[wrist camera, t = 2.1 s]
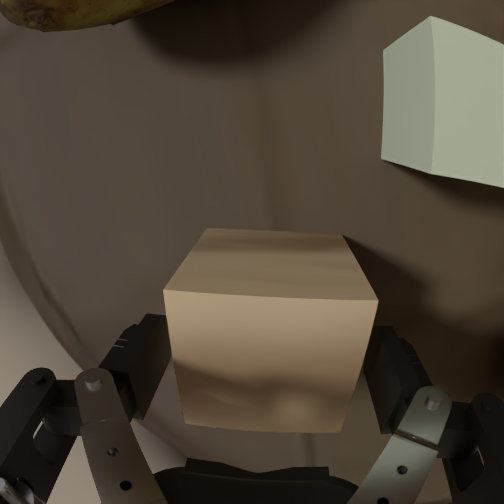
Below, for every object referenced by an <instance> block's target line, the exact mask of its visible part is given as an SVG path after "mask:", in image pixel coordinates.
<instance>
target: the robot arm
mask: <svg viewBox="0 0 504 504" xmlns="http://www.w3.org/2000/svg"><path fill="white" fill-rule="evenodd" d="M170 357H171V344H170V337H169V330H168V323H167V318H166V316H165V315H156V314H146V315H145V316H144V318H143V319H142V321H141V322H140V323H139V325H137V324H133V325H132V326H130V327H129V328H127V329H126V330H124V332H123V333H122V334H121V336H120V337H119V340H117V341H116V343H115V344H114V347H112V348H111V350H110V351H109V352H108V354H107V355H106V357H105V358H104V360H103V361H102V362H101V364H100V365H99V367H98V368H91V369H87V370H85V371H83V372H81V373H80V374H79V375H78V376H77V378H76V379H75V380H56V377H55V375H54V373H53V372H52V371H51V370H50V369H48V368H36V369H33V370H31V371H29V372H28V373H26V374H25V375H24V377H23V378H22V379H21V380H20V382H19V383H18V384H17V386H16V387H15V388H14V390H13V391H12V392H11V394H10V395H9V396H8V398H7V399H6V400H5V402H4V403H3V404H2V406H1V407H0V504H46V503H47V501H48V498H49V496H50V493H51V491H52V489H53V487H54V485H55V483H56V480H57V478H58V476H59V474H60V471H61V469H62V467H63V465H64V463H65V461H66V459H67V457H68V455H69V452H70V450H71V448H72V446H73V444H74V442H75V440H76V438H77V436H82V440H83V444H84V448H85V452H86V455H87V458H88V462H89V466H90V469H91V472H92V476H93V479H94V482H95V485H96V488H97V491H98V494H99V496H100V499H101V502H102V503H101V504H414V503H415V501H416V499H417V497H418V495H419V493H420V491H421V489H422V487H423V485H424V483H425V481H426V479H427V477H428V475H429V472H430V470H431V468H432V466H433V463H434V461H435V459H436V458H442V462H443V465H444V469H445V473H446V477H447V480H448V484H449V488H450V492H451V497H452V501H453V504H504V405H503V403H502V401H501V400H500V399H499V398H498V397H497V396H495V395H493V394H490V393H479V394H477V395H476V396H475V397H474V398H473V400H472V402H471V403H463V402H454V401H452V400H451V397H450V396H449V394H448V393H447V392H445V391H444V390H443V389H441V388H438V387H434V386H433V385H432V383H431V381H430V379H429V377H428V375H427V373H426V371H425V369H424V367H423V365H422V363H420V362H421V361H420V359H419V358H418V356H417V354H416V352H415V350H414V348H413V346H412V345H411V344H410V343H408V342H407V341H406V340H405V339H404V338H398V336H397V334H396V332H395V330H394V328H393V327H392V326H374V327H373V328H372V330H371V334H370V338H369V342H368V346H367V350H366V353H365V357H364V374H365V377H366V380H367V384H368V387H369V391H370V394H371V398H372V401H373V405H374V409H375V412H376V416H377V420H378V423H379V427H380V431H381V434H389V433H392V437H391V439H390V441H389V442H388V444H387V446H386V447H385V449H384V451H383V452H382V454H381V455H380V457H379V459H378V460H377V462H376V463H375V465H374V466H373V468H372V469H371V471H370V472H369V474H368V475H367V477H366V478H365V480H364V481H363V482H362V484H361V485H360V487H358V486H357V485H355V484H353V483H351V482H349V481H347V480H344V479H341V478H338V477H334V476H329V468H328V467H292V468H287V469H281V470H276V471H270V472H263V473H254V472H250V471H247V470H243V469H240V468H237V467H233V466H230V465H227V464H224V463H220V462H212V461H205V460H198V459H192V458H187V461H186V465H185V467H176V468H170V469H165V470H162V471H160V472H157V473H155V474H152V472H151V470H150V468H149V466H148V464H147V461H146V459H145V457H144V455H143V453H142V451H141V448H140V446H139V444H138V442H137V439H136V437H135V435H134V433H133V430H132V428H131V425H130V422H131V420H132V418H137V419H141V420H143V419H144V417H145V414H146V412H147V410H148V408H149V405H150V403H151V401H152V399H153V396H154V394H155V392H156V390H157V388H158V385H159V383H160V381H161V379H162V377H163V374H164V372H165V370H166V368H167V366H168V363H169V361H170ZM41 421H42V422H43V424H42V425H41V427H40V429H39V430H38V432H37V434H36V436H35V438H34V439H33V435H34V432H35V431H36V429H37V427H38V426H39V424H40V422H41ZM478 449H479V450H480V453H481V455H482V458H483V461H484V466H483V463H482V460H481V458H480V455H479V452H478Z"/></svg>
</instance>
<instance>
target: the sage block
mask: <svg viewBox="0 0 504 504" xmlns="http://www.w3.org/2000/svg"><path fill="white" fill-rule="evenodd" d="M383 58H384V110H383V136H382V153H381V159H383V160H386V161H390V162H393V163H397V164H400V165H404V166H407V167H410V168H414V169H417V170H420V171H423V172H426V173H430V174H434V175H440V176H446V177H452V178H458V179H463V180H468V181H474V182H479V183H484V184H488V185H493V186H498V187H502V188H504V45H503V44H501V43H499V42H497V41H494V40H492V39H490V38H488V37H486V36H483V35H481V34H479V33H476V32H474V31H471V30H469V29H466V28H464V27H461V26H458V25H456V24H453V23H450V22H447V21H445V20H442V19H439V18H436V17H432V16H430V17H428V18H427V19H425V20H424V21H423V22H421V23H420V24H418V25H417V26H416V27H414V28H413V29H411V30H410V31H409V32H407V33H406V34H405V35H403V36H402V37H400V38H399V39H398V40H396V41H395V42H394V43H392V44H391V45H390V46H388V47H387V48H386V49H384V50H383Z"/></svg>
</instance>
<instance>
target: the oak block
mask: <svg viewBox="0 0 504 504" xmlns="http://www.w3.org/2000/svg"><path fill="white" fill-rule="evenodd" d="M163 292H164V300H165V308H166V316H167V323H168V330H169V337H170V344H171V350H172V356H173V362H174V368H175V374H176V380H177V385H178V390H179V396H180V401H181V406H182V411H183V416H184V420H185V423H187V424H194V425H201V426H208V427H216V428H225V429H236V430H247V431H262V432H284V433H333V432H340V430H341V428H342V425H343V422H344V419H345V417H346V414H347V411H348V408H349V405H350V402H351V399H352V396H353V393H354V390H355V387H356V384H357V380H358V377H359V374H360V370H361V367H362V364H363V360H364V357H365V353H366V349H367V346H368V342H369V338H370V334H371V330H372V326H373V322H374V318H375V314H376V310H377V305H378V301H379V300H378V298H377V297H376V295H375V293H374V291H373V289H372V287H371V285H370V284H369V282H368V280H367V278H366V276H365V274H364V273H363V271H362V269H361V267H360V265H359V264H358V262H357V260H356V258H355V257H354V255H353V253H352V251H351V250H350V248H349V246H348V244H347V243H346V241H345V239H344V238H343V236H342V234H325V233H306V232H286V231H265V230H241V229H216V228H207V229H206V231H205V232H204V234H203V235H202V236H201V238H200V239H199V240H198V242H197V243H196V244H195V246H194V247H193V249H192V250H191V251H190V253H189V254H188V255H187V257H186V258H185V260H184V261H183V262H182V264H181V265H180V267H179V268H178V269H177V271H176V272H175V274H174V275H173V277H172V278H171V279H170V281H169V282H168V284H167V285H166V287H165V288H164V289H163Z"/></svg>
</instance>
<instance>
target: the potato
mask: <svg viewBox="0 0 504 504" xmlns="http://www.w3.org/2000/svg"><path fill="white" fill-rule="evenodd" d="M173 1H175V0H0V12H1V13H2V15H3V16H4V17H5V18H6V19H7V20H9V21H10V22H12V23H14V24H16V25H19V26H22V27H25V28H31V29H36V30H40V31H43V32H49V31H66V30H78V29H84V28H90V27H97V26H101V25H106V24H112V25H115V24H117V23H119V22H122V21H124V20H127V19H130V18H133V17H135V16H138V15H139V14H141V13H144V12H147V11H150V10H153V9H156V8H158V7H161V6H163V5H165V4H168V3H170V2H173Z"/></svg>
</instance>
